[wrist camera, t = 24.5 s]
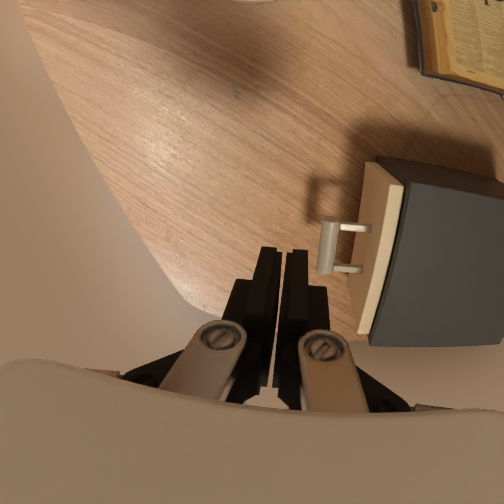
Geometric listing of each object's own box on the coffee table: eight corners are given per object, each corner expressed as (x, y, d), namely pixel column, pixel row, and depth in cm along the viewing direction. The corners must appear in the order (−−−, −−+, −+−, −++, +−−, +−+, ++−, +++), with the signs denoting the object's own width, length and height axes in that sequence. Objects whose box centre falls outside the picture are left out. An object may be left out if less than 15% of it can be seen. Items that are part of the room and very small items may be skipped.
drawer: (310, 278, 34) (310, 331, 26) (322, 156, 28) (331, 177, 20) (454, 288, 32) (482, 335, 24) (484, 182, 26) (530, 211, 18)
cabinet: (355, 282, 35) (369, 346, 25) (376, 155, 28) (411, 181, 18) (465, 289, 33) (499, 344, 23) (496, 179, 26) (552, 213, 16)
